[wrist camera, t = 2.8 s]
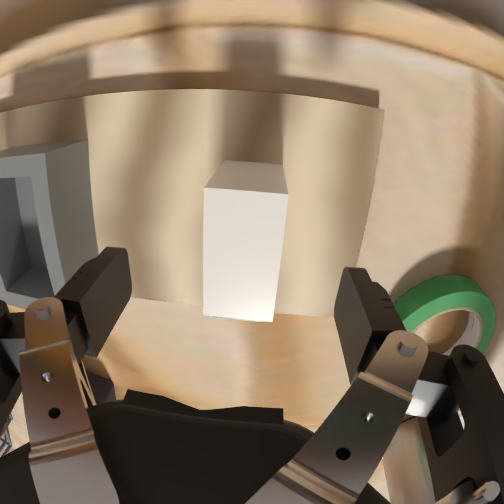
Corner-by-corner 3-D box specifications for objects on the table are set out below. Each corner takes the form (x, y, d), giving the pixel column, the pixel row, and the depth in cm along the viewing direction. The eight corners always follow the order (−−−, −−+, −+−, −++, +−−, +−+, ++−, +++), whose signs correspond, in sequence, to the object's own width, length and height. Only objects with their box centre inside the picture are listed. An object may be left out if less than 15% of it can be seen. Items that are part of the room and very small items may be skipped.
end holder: (88, 139, 17) (45, 153, 13) (103, 284, 21) (75, 321, 17) (10, 147, 17) (-32, 162, 13) (31, 272, 22) (1, 302, 18)
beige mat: (378, 109, 16) (384, 109, 15) (340, 308, 22) (342, 317, 22) (-1, 113, 17) (-9, 115, 16) (22, 271, 23) (16, 277, 22)
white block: (282, 164, 17) (288, 194, 12) (272, 265, 20) (271, 326, 15) (225, 160, 17) (203, 187, 12) (220, 260, 20) (203, 320, 15)
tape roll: (363, 380, 26) (368, 402, 24) (381, 278, 22) (392, 299, 19) (462, 362, 25) (471, 380, 23) (495, 267, 21) (512, 284, 18)
